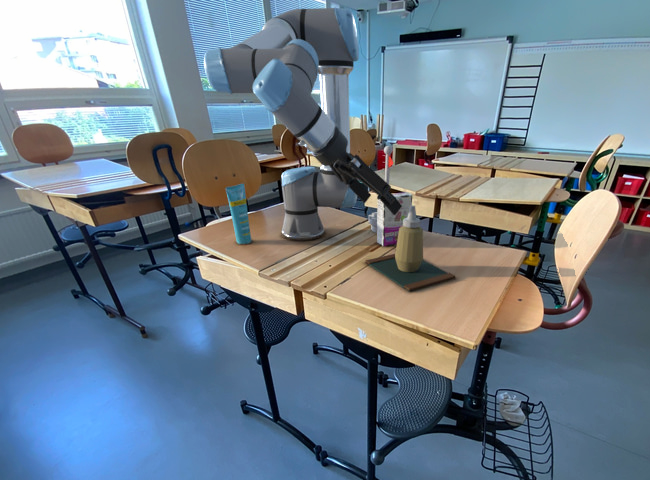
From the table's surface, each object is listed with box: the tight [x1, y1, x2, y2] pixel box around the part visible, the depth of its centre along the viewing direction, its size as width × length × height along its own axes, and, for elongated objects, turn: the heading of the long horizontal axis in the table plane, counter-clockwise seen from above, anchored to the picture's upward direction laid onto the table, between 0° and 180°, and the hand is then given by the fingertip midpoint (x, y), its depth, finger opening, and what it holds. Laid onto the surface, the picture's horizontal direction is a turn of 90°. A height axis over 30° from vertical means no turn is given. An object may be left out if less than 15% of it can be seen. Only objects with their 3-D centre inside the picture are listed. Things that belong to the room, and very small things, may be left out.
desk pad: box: [364, 253, 456, 293], centre depth 98 cm, size 22×16×1 cm
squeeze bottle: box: [394, 205, 424, 272], centre depth 93 cm, size 8×8×18 cm
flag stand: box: [368, 145, 394, 234], centre depth 125 cm, size 13×13×30 cm
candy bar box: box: [376, 192, 413, 248], centre depth 115 cm, size 11×5×16 cm, turn 118°
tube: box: [225, 182, 252, 245], centre depth 113 cm, size 7×5×19 cm, turn 157°
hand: (381, 204), depth 84 cm, fingers open, 13 cm apart
